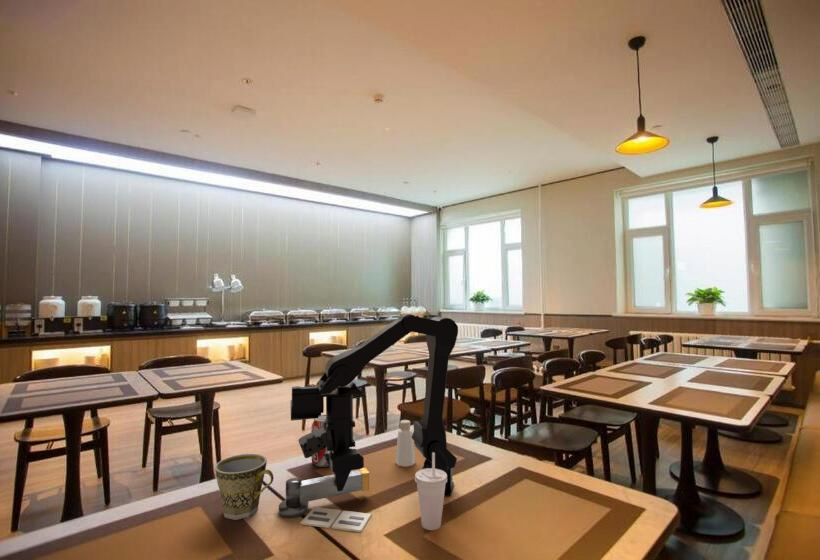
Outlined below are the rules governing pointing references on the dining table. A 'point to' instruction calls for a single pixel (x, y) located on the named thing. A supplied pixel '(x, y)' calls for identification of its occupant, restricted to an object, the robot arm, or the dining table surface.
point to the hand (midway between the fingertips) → (340, 490)
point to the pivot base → (292, 510)
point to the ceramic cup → (241, 484)
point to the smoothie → (431, 495)
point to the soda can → (319, 456)
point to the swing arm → (323, 487)
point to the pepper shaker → (405, 445)
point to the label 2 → (351, 521)
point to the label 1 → (321, 517)
